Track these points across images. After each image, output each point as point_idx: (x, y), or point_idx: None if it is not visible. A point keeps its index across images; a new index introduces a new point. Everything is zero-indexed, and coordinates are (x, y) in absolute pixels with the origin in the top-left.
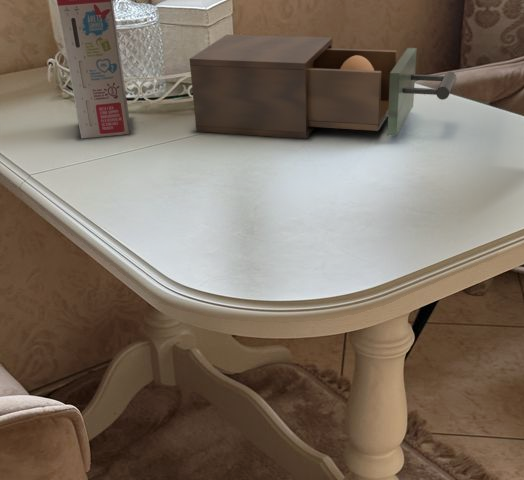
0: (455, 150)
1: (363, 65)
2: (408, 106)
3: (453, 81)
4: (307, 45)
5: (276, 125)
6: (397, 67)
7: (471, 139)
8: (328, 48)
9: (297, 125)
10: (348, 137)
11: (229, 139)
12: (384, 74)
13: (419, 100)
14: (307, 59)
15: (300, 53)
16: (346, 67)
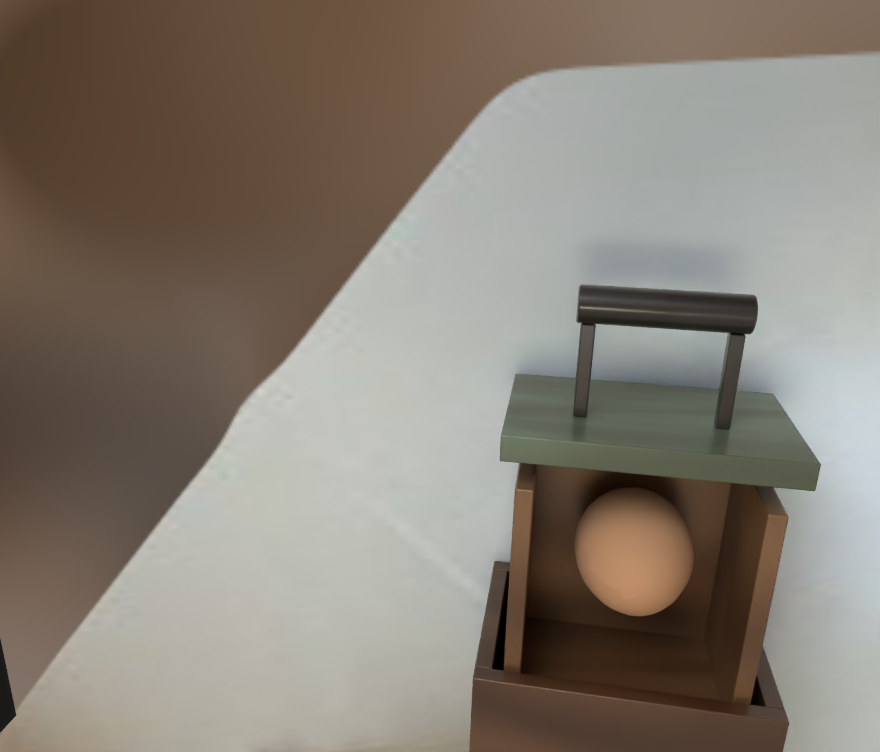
0: (819, 234)
1: (668, 564)
2: (601, 388)
3: (648, 292)
4: (575, 731)
5: None
6: (749, 474)
7: (725, 197)
8: (509, 669)
9: None
10: None
11: None
12: (535, 487)
13: (403, 359)
14: (743, 720)
15: (673, 741)
16: (669, 603)
